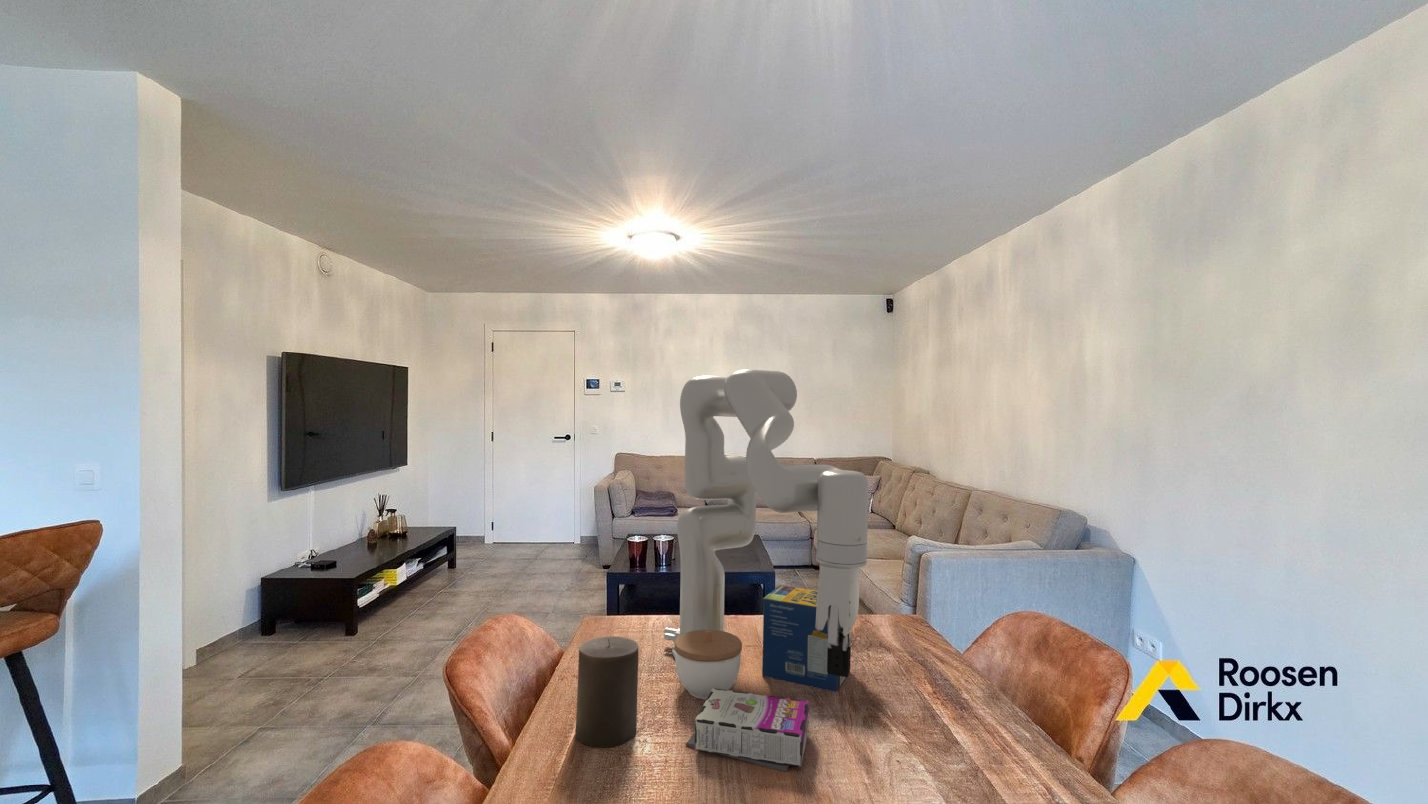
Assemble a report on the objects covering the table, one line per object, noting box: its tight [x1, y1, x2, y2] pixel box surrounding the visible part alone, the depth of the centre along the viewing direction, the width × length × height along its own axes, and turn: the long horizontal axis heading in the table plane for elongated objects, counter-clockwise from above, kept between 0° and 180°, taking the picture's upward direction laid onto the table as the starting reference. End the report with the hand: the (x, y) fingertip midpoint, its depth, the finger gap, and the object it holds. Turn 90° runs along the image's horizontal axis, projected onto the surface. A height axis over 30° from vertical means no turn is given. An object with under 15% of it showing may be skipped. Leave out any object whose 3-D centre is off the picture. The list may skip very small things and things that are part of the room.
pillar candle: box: [575, 635, 640, 748], centre depth 96 cm, size 10×10×15 cm
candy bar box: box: [694, 688, 810, 767], centre depth 93 cm, size 11×5×16 cm
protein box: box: [761, 584, 851, 693], centre depth 119 cm, size 10×15×16 cm
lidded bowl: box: [674, 630, 743, 700], centre depth 111 cm, size 13×13×11 cm
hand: (838, 672), depth 90 cm, fingers closed
